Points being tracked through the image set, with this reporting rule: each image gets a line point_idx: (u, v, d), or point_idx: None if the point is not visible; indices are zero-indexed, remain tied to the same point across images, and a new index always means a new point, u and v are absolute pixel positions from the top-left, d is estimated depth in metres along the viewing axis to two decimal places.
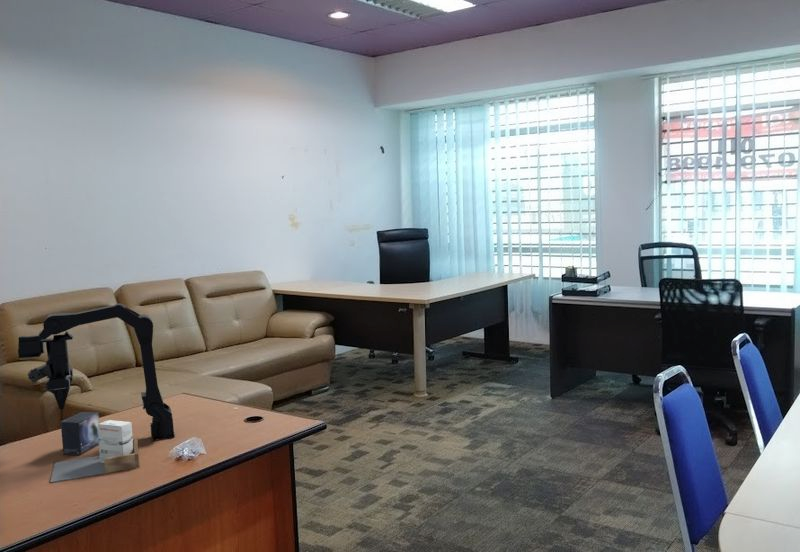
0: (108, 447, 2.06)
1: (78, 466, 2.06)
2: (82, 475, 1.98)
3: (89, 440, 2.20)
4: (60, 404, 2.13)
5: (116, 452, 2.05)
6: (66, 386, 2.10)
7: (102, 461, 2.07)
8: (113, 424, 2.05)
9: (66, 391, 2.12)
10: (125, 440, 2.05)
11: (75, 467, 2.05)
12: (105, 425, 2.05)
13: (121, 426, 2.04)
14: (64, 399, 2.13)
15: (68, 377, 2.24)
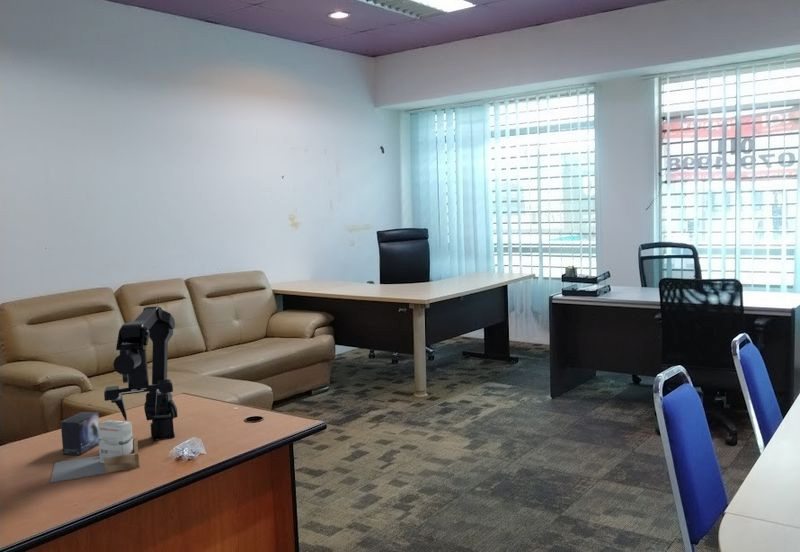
0: (108, 447, 2.06)
1: (78, 466, 2.06)
2: (82, 475, 1.98)
3: (89, 440, 2.20)
4: (123, 415, 2.08)
5: (116, 452, 2.05)
6: None
7: (102, 461, 2.07)
8: (113, 424, 2.05)
9: None
10: (125, 440, 2.05)
11: (75, 467, 2.05)
12: (105, 425, 2.05)
13: (121, 426, 2.04)
14: (121, 411, 2.07)
15: (162, 393, 2.10)
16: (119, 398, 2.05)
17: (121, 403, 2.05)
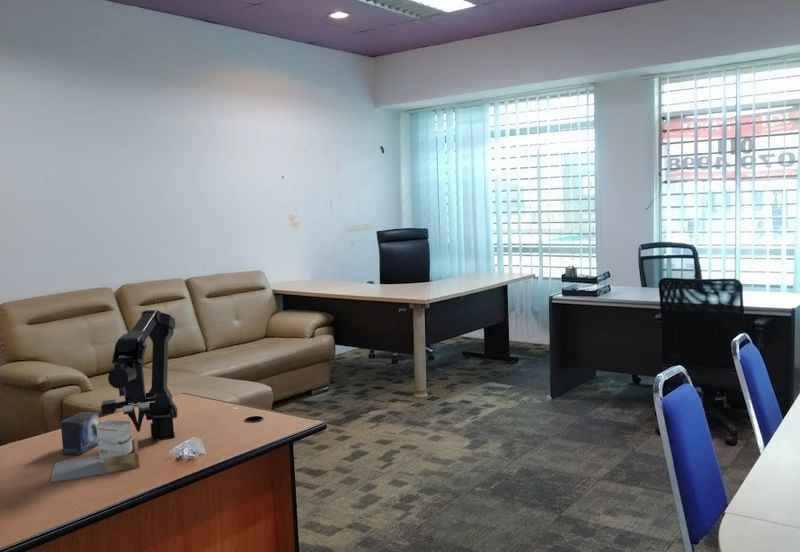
0: (108, 447, 2.06)
1: (78, 466, 2.06)
2: (82, 475, 1.98)
3: (89, 440, 2.20)
4: None
5: (115, 452, 2.05)
6: (101, 412, 2.03)
7: (102, 461, 2.07)
8: (111, 424, 2.05)
9: None
10: (124, 439, 2.05)
11: (75, 467, 2.05)
12: (103, 425, 2.05)
13: (119, 426, 2.04)
14: (133, 423, 2.08)
15: (144, 408, 2.08)
16: (131, 409, 2.06)
17: (133, 414, 2.06)
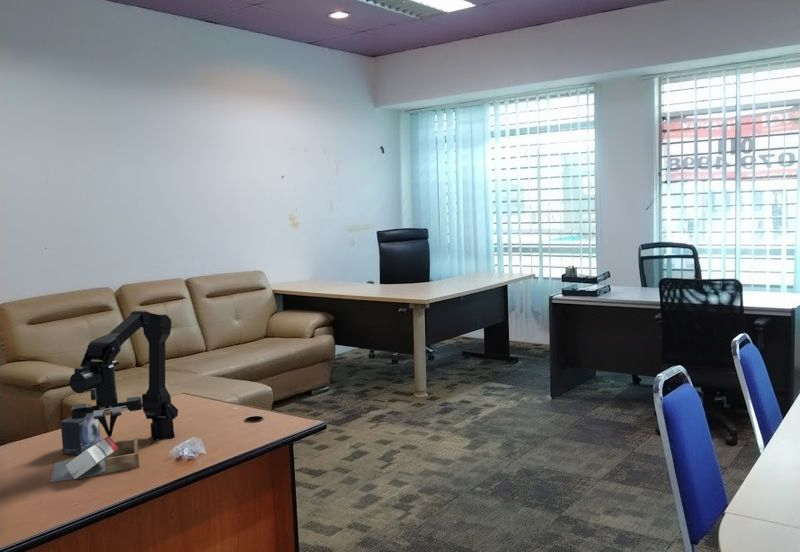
0: (97, 463, 2.02)
1: None
2: (82, 475, 1.98)
3: (89, 440, 2.20)
4: None
5: None
6: None
7: None
8: (85, 467, 1.95)
9: None
10: (102, 453, 1.99)
11: None
12: (82, 473, 1.96)
13: (94, 462, 1.95)
14: (104, 428, 2.05)
15: (115, 413, 2.05)
16: (102, 414, 2.04)
17: (104, 419, 2.03)
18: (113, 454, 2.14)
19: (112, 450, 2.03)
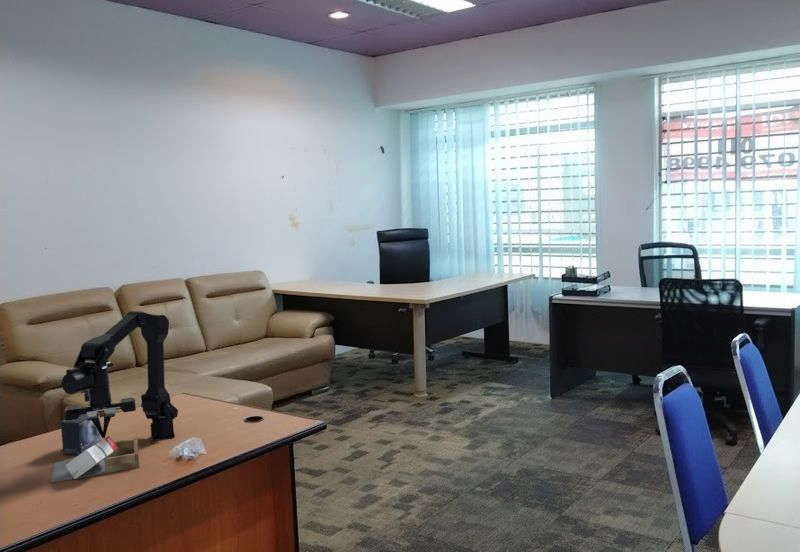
0: (97, 463, 2.02)
1: None
2: (82, 475, 1.98)
3: (89, 440, 2.20)
4: None
5: None
6: (65, 418, 2.00)
7: None
8: (85, 467, 1.95)
9: None
10: (102, 453, 1.99)
11: None
12: (82, 473, 1.96)
13: (94, 462, 1.95)
14: None
15: (109, 414, 2.05)
16: (95, 415, 2.03)
17: (97, 420, 2.03)
18: (113, 454, 2.14)
19: (112, 450, 2.03)
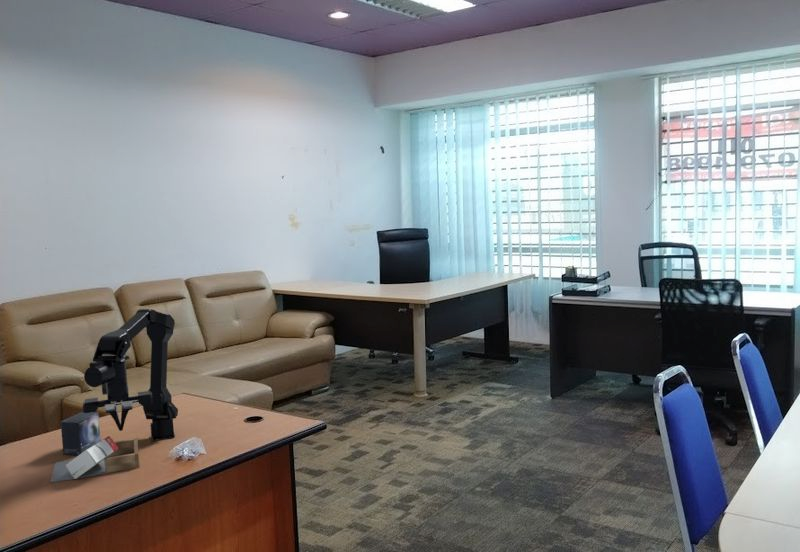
0: (97, 463, 2.02)
1: None
2: (82, 475, 1.98)
3: (89, 440, 2.20)
4: None
5: None
6: (83, 411, 2.01)
7: None
8: (85, 467, 1.95)
9: None
10: (102, 453, 1.99)
11: None
12: (82, 473, 1.96)
13: (94, 462, 1.95)
14: (115, 421, 2.06)
15: (127, 407, 2.06)
16: (113, 408, 2.05)
17: (115, 413, 2.04)
18: (113, 454, 2.14)
19: (112, 450, 2.03)
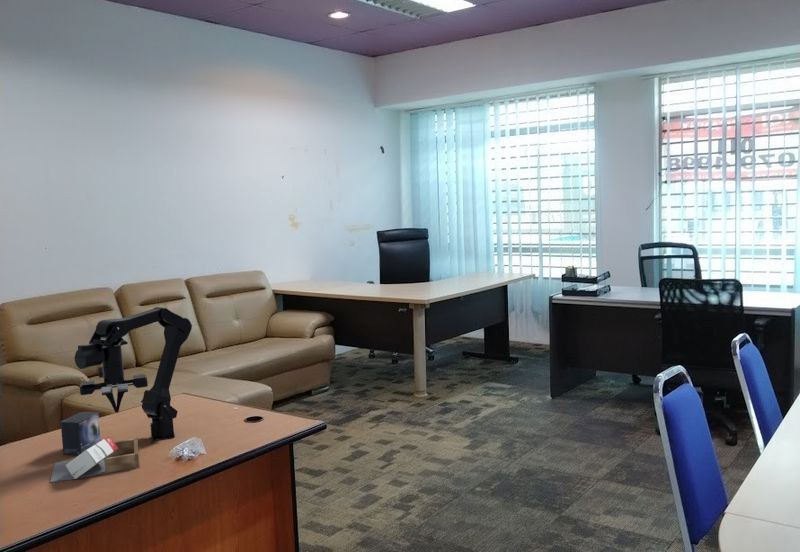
0: (97, 463, 2.02)
1: None
2: (82, 475, 1.98)
3: (89, 440, 2.20)
4: None
5: None
6: (80, 393, 2.09)
7: None
8: (85, 467, 1.95)
9: None
10: (102, 453, 1.99)
11: None
12: (82, 473, 1.96)
13: (94, 462, 1.95)
14: (111, 403, 2.14)
15: (122, 390, 2.14)
16: (109, 391, 2.12)
17: (111, 395, 2.12)
18: (113, 454, 2.14)
19: (112, 450, 2.03)
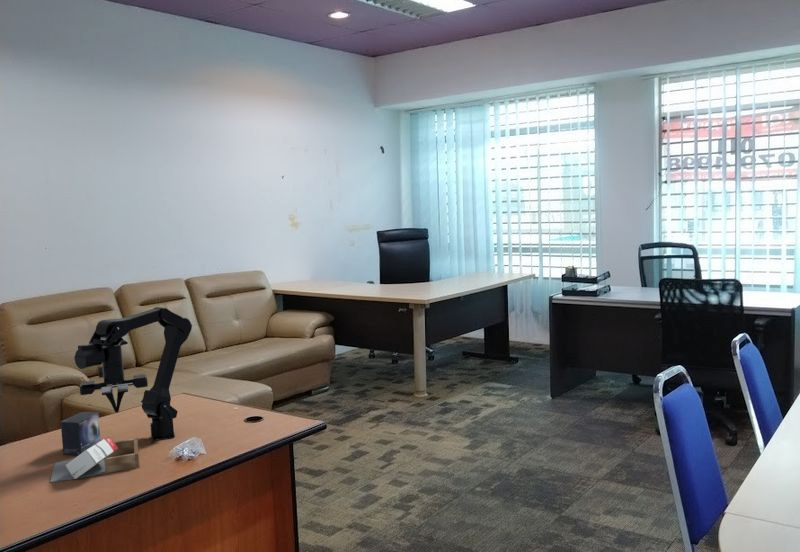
0: (97, 463, 2.02)
1: None
2: (82, 475, 1.98)
3: (89, 440, 2.20)
4: None
5: None
6: (80, 393, 2.09)
7: None
8: (85, 467, 1.95)
9: None
10: (102, 453, 1.99)
11: None
12: (82, 473, 1.96)
13: (94, 462, 1.95)
14: (111, 403, 2.14)
15: (122, 390, 2.14)
16: (109, 391, 2.12)
17: (111, 395, 2.12)
18: (113, 454, 2.14)
19: (112, 450, 2.03)
